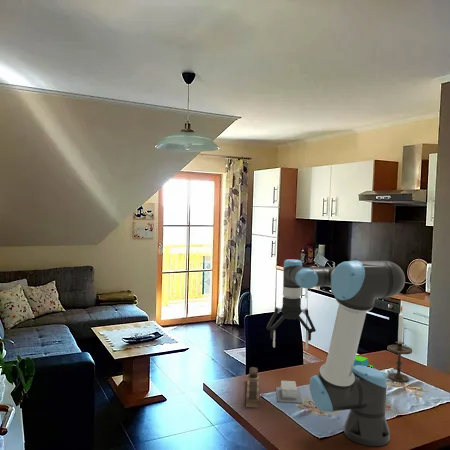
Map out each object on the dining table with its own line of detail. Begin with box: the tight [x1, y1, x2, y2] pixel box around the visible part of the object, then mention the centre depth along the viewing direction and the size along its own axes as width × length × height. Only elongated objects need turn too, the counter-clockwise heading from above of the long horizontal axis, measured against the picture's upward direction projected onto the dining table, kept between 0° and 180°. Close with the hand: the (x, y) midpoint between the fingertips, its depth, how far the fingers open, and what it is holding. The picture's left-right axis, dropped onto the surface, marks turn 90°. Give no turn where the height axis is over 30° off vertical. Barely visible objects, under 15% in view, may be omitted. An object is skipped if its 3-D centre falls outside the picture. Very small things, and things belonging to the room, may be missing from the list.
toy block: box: [353, 354, 374, 368], centre depth 206 cm, size 10×13×10 cm
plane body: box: [245, 366, 260, 408], centre depth 184 cm, size 26×5×10 cm, turn 176°
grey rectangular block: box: [280, 380, 298, 400], centre depth 183 cm, size 9×6×4 cm, turn 176°
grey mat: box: [275, 386, 303, 404], centre depth 183 cm, size 14×10×1 cm
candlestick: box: [386, 305, 413, 383], centre depth 204 cm, size 11×11×35 cm
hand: (290, 347), depth 182 cm, fingers open, 13 cm apart
